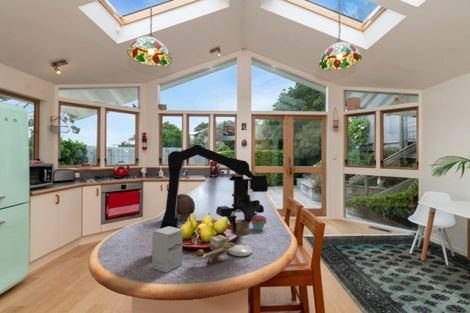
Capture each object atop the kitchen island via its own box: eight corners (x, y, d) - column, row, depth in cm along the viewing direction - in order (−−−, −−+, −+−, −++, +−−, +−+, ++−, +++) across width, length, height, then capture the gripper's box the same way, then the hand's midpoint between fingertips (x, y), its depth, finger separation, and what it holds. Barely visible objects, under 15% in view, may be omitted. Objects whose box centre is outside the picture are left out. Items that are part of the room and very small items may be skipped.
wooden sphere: (185, 215, 157) (185, 191, 157) (199, 220, 147) (200, 194, 146) (163, 219, 146) (163, 193, 146) (177, 225, 136) (178, 197, 136)
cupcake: (247, 230, 128) (248, 206, 128) (253, 225, 136) (253, 203, 136) (264, 232, 125) (264, 208, 125) (268, 227, 133) (268, 205, 133)
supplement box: (166, 273, 81) (167, 234, 81) (151, 267, 85) (151, 230, 85) (182, 265, 87) (183, 228, 87) (167, 260, 91) (168, 225, 91)
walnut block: (237, 236, 96) (237, 223, 96) (231, 232, 100) (231, 220, 100) (248, 234, 98) (249, 222, 98) (242, 231, 103) (242, 219, 103)
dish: (234, 259, 93) (235, 256, 93) (223, 250, 101) (224, 247, 101) (256, 254, 97) (256, 251, 97) (244, 246, 106) (244, 243, 106)
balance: (196, 269, 85) (196, 252, 84) (192, 263, 88) (192, 248, 88) (236, 260, 92) (237, 245, 92) (231, 256, 96) (231, 241, 96)
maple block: (217, 253, 98) (217, 240, 98) (210, 249, 102) (210, 237, 102) (227, 250, 101) (227, 238, 101) (220, 246, 105) (220, 234, 105)
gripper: (228, 196, 88) (227, 241, 88) (272, 193, 96) (271, 234, 97) (216, 192, 98) (215, 232, 98) (256, 189, 106) (255, 226, 106)
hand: (240, 231), depth 99 cm, fingers closed on walnut block, 5 cm apart
